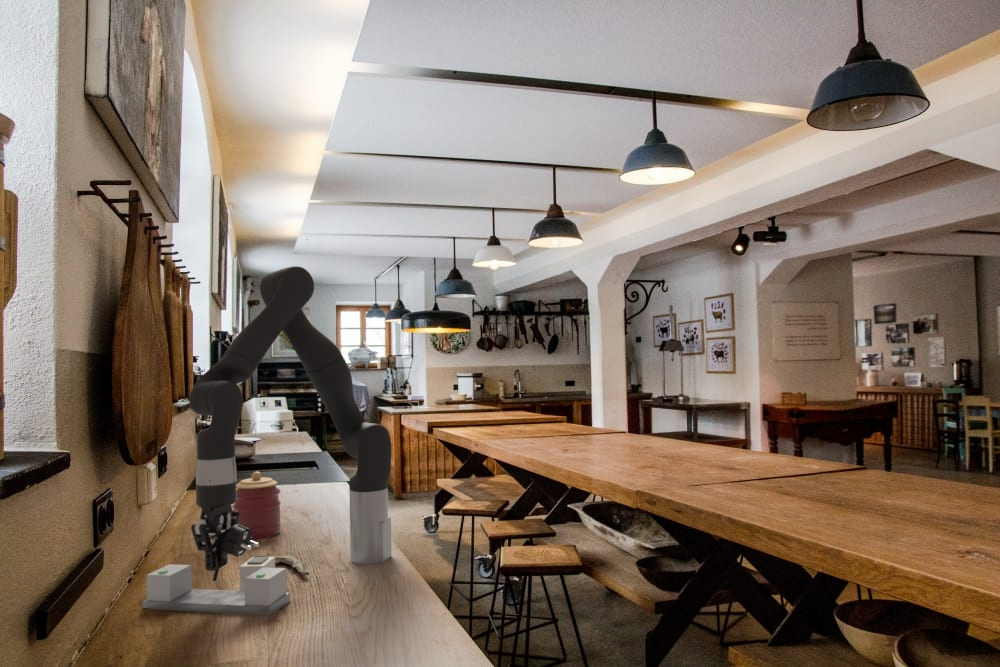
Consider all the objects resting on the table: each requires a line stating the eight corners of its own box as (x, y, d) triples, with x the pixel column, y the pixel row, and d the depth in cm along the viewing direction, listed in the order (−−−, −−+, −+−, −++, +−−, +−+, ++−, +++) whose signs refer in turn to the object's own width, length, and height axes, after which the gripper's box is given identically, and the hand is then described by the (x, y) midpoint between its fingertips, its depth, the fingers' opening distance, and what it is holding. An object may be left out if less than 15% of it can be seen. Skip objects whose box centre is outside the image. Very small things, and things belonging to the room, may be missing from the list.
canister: (222, 539, 192) (222, 475, 193) (250, 527, 205) (249, 467, 205) (264, 541, 189) (263, 475, 190) (289, 529, 202) (289, 468, 202)
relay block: (275, 584, 152) (275, 554, 152) (263, 595, 145) (263, 564, 145) (252, 584, 152) (252, 555, 152) (240, 595, 145) (239, 564, 145)
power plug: (219, 574, 142) (235, 518, 141) (251, 587, 140) (266, 530, 139) (201, 582, 136) (217, 524, 136) (234, 596, 134) (250, 536, 134)
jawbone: (280, 559, 172) (281, 550, 172) (337, 573, 161) (337, 563, 161) (249, 563, 165) (250, 554, 165) (306, 578, 153) (306, 568, 154)
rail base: (290, 602, 140) (289, 592, 140) (270, 617, 132) (270, 606, 132) (169, 597, 145) (168, 587, 145) (142, 611, 137) (142, 601, 137)
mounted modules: (286, 593, 140) (286, 566, 140) (269, 605, 133) (268, 577, 133) (169, 588, 144) (169, 562, 144) (146, 600, 137) (146, 572, 137)
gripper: (213, 487, 132) (213, 579, 131) (252, 474, 145) (252, 558, 145) (177, 486, 133) (177, 578, 132) (219, 474, 147) (219, 557, 146)
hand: (216, 567), depth 139 cm, fingers closed on power plug, 2 cm apart
